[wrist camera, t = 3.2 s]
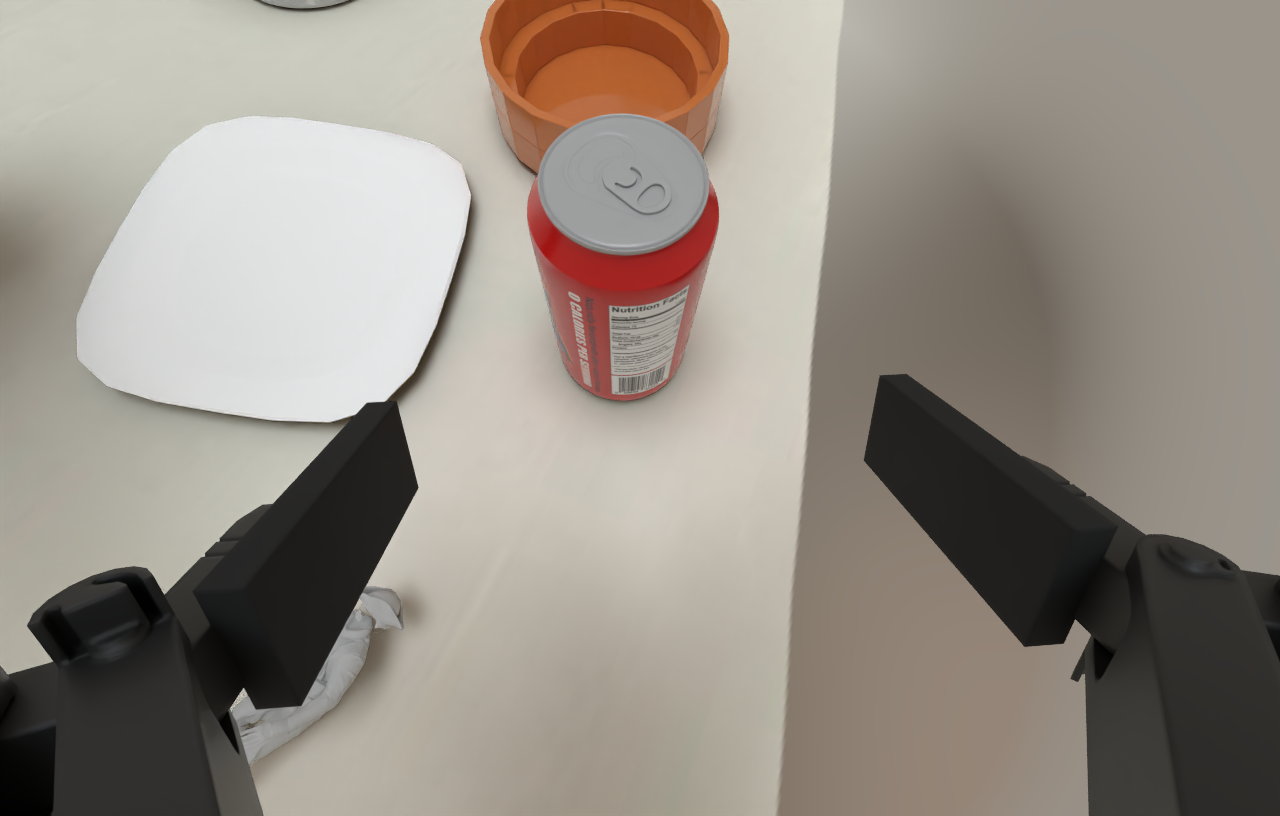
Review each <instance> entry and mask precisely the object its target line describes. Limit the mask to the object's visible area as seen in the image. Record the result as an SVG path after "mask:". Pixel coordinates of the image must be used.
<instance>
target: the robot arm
mask: <svg viewBox="0 0 1280 816" xmlns="http://www.w3.org/2000/svg"><path fill="white" fill-rule="evenodd" d="M864 461H865V462H866V464H867V465H868V466H869V467H870V468H871V469H872V471H873V472H874V473H875V474H876V475H877V476H878V477H879V478H880V480H881V481H882V482H883V483H884V484H885V486H886V487H887V488H888V489H889V490H890V491H891V492H892V494H893V495H894V496H895V497H896V498H897V499H898V501H899V502H900V503H901V504H902V505H903V506H904V508H905V509H906V510H907V511H908V512H909V513H910V514H911V516H912V517H913V518H914V519H915V520H916V521H917V523H918V524H919V525H920V526H921V527H922V528H923V530H924V531H925V532H926V533H927V534H928V535H929V537H930V538H931V539H932V540H933V541H934V542H935V544H936V545H937V546H938V547H939V548H940V549H941V550H942V552H943V553H944V554H945V555H946V556H947V557H948V559H949V560H950V561H951V562H952V563H953V564H954V565H955V567H956V568H957V569H958V570H959V571H960V573H961V574H962V575H963V576H964V577H965V578H966V579H967V581H968V582H969V583H970V584H971V585H972V586H973V588H974V589H975V590H976V591H977V592H978V593H979V595H980V596H981V597H982V598H983V599H984V600H985V601H986V602H987V604H988V605H989V606H990V607H991V608H992V610H993V611H994V612H995V613H996V614H997V615H998V617H999V618H1000V619H1001V620H1002V621H1003V622H1004V624H1005V625H1006V626H1007V627H1008V628H1009V629H1010V630H1011V632H1012V633H1013V634H1014V635H1015V636H1016V637H1017V638H1018V640H1019V641H1020V642H1021V643H1022V644H1023V646H1025V647H1028V646H1040V645H1053V644H1063V643H1064V642H1065V640H1066V637H1067V635H1068V633H1069V631H1070V629H1071V627H1072V625H1073V623H1074V620H1075V619H1076V620H1077V621H1078V622H1079V623H1080V624H1081V625H1082V626H1083V627H1084V628H1085V629H1086V630H1087V631H1088V632H1089V633H1090V634H1091V637H1090V639H1089V641H1088V643H1087V645H1086V647H1085V649H1084V651H1083V653H1082V655H1081V657H1080V659H1079V661H1078V663H1077V665H1076V667H1075V669H1074V671H1073V674H1072V676H1071V679H1072V680H1075V681H1077V682H1078V681H1079V679H1080V677H1081V675H1082V674H1085V684H1086V723H1087V759H1088V761H1087V762H1088V801H1089V816H1280V576H1278V575H1271V574H1264V573H1257V572H1250V571H1243V570H1240V568H1239V567H1238V566H1237V565H1236V564H1235V563H1233V562H1232V561H1230V560H1229V559H1227V558H1226V557H1225V556H1223V555H1222V554H1220V553H1218V552H1216V551H1214V550H1212V549H1210V548H1208V547H1206V546H1204V545H1201V544H1198V543H1195V542H1193V541H1190V540H1187V539H1184V538H1179V537H1174V536H1169V535H1162V534H1160V535H1159V534H1158V535H1157V534H1153V535H1152V534H1149V535H1145V534H1144V533H1142V532H1141V531H1139V530H1138V529H1137V528H1135V527H1134V526H1132V525H1131V524H1129V523H1128V522H1126V521H1125V520H1124V519H1122V518H1121V517H1119V516H1118V515H1117V514H1115V513H1114V512H1112V511H1111V510H1109V509H1108V508H1107V507H1105V506H1103V505H1102V504H1101V503H1099V502H1098V501H1096V500H1095V499H1094V498H1092V497H1090V496H1086V493H1085V492H1084V491H1082V490H1081V489H1079V488H1078V487H1076V486H1075V485H1070V483H1069V481H1068V480H1066V479H1065V478H1063V477H1062V476H1061V475H1059V474H1058V473H1056V472H1055V471H1053V470H1052V469H1051V468H1049V467H1047V466H1045V465H1042V464H1040V463H1038V462H1036V461H1033V460H1031V459H1029V458H1027V457H1024V456H1020V455H1019V454H1017V453H1016V452H1014V451H1013V450H1011V449H1010V448H1009V447H1007V446H1006V445H1005V444H1003V443H1002V442H1000V441H999V440H998V439H996V438H995V437H993V436H992V435H991V434H989V433H988V432H986V431H985V430H984V429H982V428H981V427H979V426H978V425H977V424H975V423H974V422H973V421H971V420H970V419H968V418H967V417H966V416H964V415H963V414H961V413H960V412H959V411H957V410H956V409H954V408H953V407H952V406H950V405H949V404H948V403H946V402H945V401H943V400H942V399H941V398H939V397H938V396H936V395H935V394H934V393H932V392H931V391H929V390H928V389H927V388H925V387H923V386H922V385H921V384H920V383H918V382H917V381H915V380H914V379H913V378H911V377H910V376H908V375H907V374H899V375H882V376H880V378H879V382H878V388H877V393H876V398H875V404H874V409H873V414H872V419H871V425H870V431H869V435H868V441H867V446H866V451H865V457H864ZM417 490H418V484H417V480H416V476H415V472H414V468H413V464H412V460H411V456H410V452H409V448H408V444H407V440H406V436H405V433H404V429H403V425H402V421H401V417H400V413H399V409H398V405H397V401H387V402H368V403H366V404H365V405H364V406H363V407H362V408H361V409H360V410H359V412H358V413H357V414H356V415H355V416H354V417H353V418H352V419H351V420H350V421H349V422H348V423H347V425H346V426H345V427H344V428H343V429H342V430H341V431H340V432H339V433H338V434H337V435H336V436H335V437H334V439H333V440H332V441H331V442H330V443H329V444H328V445H327V446H326V447H325V448H324V449H323V450H322V452H321V453H320V454H319V455H318V456H317V457H316V458H315V459H314V460H313V461H312V462H311V463H310V464H309V466H308V467H307V468H306V469H305V470H304V471H303V472H302V473H301V474H300V475H299V476H298V477H297V479H296V480H295V481H294V482H293V483H292V484H291V485H290V486H289V487H288V488H287V489H286V490H285V492H284V493H283V494H282V495H281V496H280V497H279V498H278V499H277V500H276V501H275V502H274V503H273V504H268V505H261V506H260V507H258V508H257V509H255V510H253V511H252V512H250V513H249V514H247V515H246V516H244V517H242V518H241V519H239V520H238V521H236V522H235V524H234V525H233V526H232V527H231V528H230V529H229V530H228V531H227V532H226V533H225V534H224V535H223V536H222V537H221V538H220V542H216V543H215V544H214V545H213V546H212V547H211V548H210V549H209V550H208V551H207V552H206V553H205V557H201V558H200V559H199V560H198V561H197V562H196V563H195V564H194V565H193V566H192V567H191V568H190V569H189V570H188V571H187V572H186V573H185V575H184V576H183V577H182V578H181V579H180V580H179V581H178V582H177V583H176V584H175V585H174V586H173V587H172V588H171V589H170V590H169V591H168V592H167V593H166V594H165V595H164V594H163V592H162V590H161V588H160V587H159V585H158V583H157V581H156V580H155V578H154V576H153V575H152V574H151V572H150V571H149V570H148V569H147V568H141V567H135V566H133V567H125V568H118V569H113V570H110V571H106V572H103V573H100V574H97V575H93V576H91V577H89V578H86V579H84V580H82V581H80V582H78V583H76V584H73V585H71V586H69V587H67V588H66V589H64V590H63V591H61V592H60V593H58V594H56V595H55V596H53V597H52V598H50V599H48V600H47V601H46V602H45V603H44V604H43V605H42V606H41V607H40V608H39V609H38V610H37V611H35V612H34V613H33V615H32V617H31V619H30V621H29V623H28V625H27V627H28V628H29V629H30V631H31V632H32V633H33V635H34V636H35V637H36V639H37V640H38V641H39V643H40V644H41V645H42V647H43V648H44V649H45V651H46V652H47V653H48V655H49V656H50V657H51V659H52V660H53V661H54V662H51V663H47V664H44V665H40V666H37V667H33V668H30V669H26V670H23V671H19V672H16V673H12V674H9V675H8V674H7V673H6V672H5V671H4V670H3V668H2V667H1V666H0V816H264V815H263V812H262V808H261V805H260V801H259V798H258V794H257V791H256V787H255V784H254V781H253V777H252V774H251V770H250V767H249V763H248V760H247V756H246V753H245V750H244V746H243V743H242V739H241V736H240V732H239V729H238V725H237V722H236V720H235V718H234V716H233V715H232V713H231V711H230V707H231V706H232V704H233V703H234V701H235V700H236V698H237V697H238V695H239V694H240V692H241V691H242V689H243V688H244V689H245V691H246V692H247V694H248V696H249V698H250V700H251V702H252V704H253V705H254V707H255V709H256V710H260V709H272V708H285V707H297V706H302V704H303V702H304V700H305V699H306V697H307V695H308V693H309V691H310V689H311V687H312V686H313V684H314V682H315V680H316V678H317V676H318V674H319V672H320V671H321V669H322V667H323V665H324V663H325V661H326V659H327V658H328V656H329V654H330V652H331V650H332V648H333V646H334V644H335V643H336V641H337V639H338V637H339V635H340V633H341V631H342V630H343V628H344V626H345V624H346V622H347V620H348V618H349V617H350V615H351V613H352V611H353V609H354V607H355V605H356V603H357V602H358V600H359V598H360V596H361V594H362V592H363V590H364V589H365V587H366V585H367V583H368V581H369V579H370V577H371V575H372V574H373V572H374V570H375V568H376V566H377V564H378V562H379V561H380V559H381V557H382V555H383V553H384V551H385V549H386V547H387V546H388V544H389V542H390V540H391V538H392V536H393V534H394V533H395V531H396V529H397V527H398V525H399V523H400V521H401V520H402V518H403V516H404V514H405V512H406V510H407V508H408V506H409V505H410V503H411V501H412V499H413V497H414V495H415V493H416V492H417Z"/></svg>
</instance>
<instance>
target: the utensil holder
mask: <svg viewBox="0 0 1280 816" xmlns="http://www.w3.org/2000/svg"><path fill="white" fill-rule="evenodd" d="M261 1H263V2H266V3H269V4H273V5H277V6H282V7H288V8H318V7H324V6H331V5H334V4H338V3H342V2H345V1H347V0H261Z"/></svg>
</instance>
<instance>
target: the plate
mask: <svg viewBox="0 0 1280 816" xmlns="http://www.w3.org/2000/svg"><path fill="white" fill-rule="evenodd" d="M471 198H472V197H471V193H470V190H469V187H468V183H467V180H466V177H465V174H464V170H463V167H462V164H461V163H460V162H458V161H457V160H455V159H454V158H452V157H451V156H449V155H448V154H446V153H445V152H443V151H442V150H441V149H439V148H438V147H436V146H435V145H433V144H432V143H428V142H424V141H420V140H416V139H413V138H409V137H405V136H401V135H397V134H394V133H390V132H384V131H378V130H372V129H366V128H360V127H354V126H347V125H341V124H334V123H327V122H320V121H313V120H306V119H299V118H284V117H264V116H246V117H241V118H237V119H232V120H227V121H223V122H218V123H214V124H209V125H206V126H205V127H203V128H202V129H201V130H199V131H198V132H196V133H195V134H194V135H192V136H191V137H189V138H188V139H187V140H185V141H184V142H182V143H181V144H180V145H178V146H177V147H175V148H174V149H173V150H172V151H171V152H170V154H169V155H168V156H167V158H166V159H165V160H164V161H163V163H162V164H161V165H160V167H159V168H158V169H157V171H156V172H155V173H154V175H153V176H152V177H151V178H150V180H149V181H148V182H147V184H146V185H145V187H144V188H143V190H142V192H141V193H140V195H139V197H138V198H137V200H136V202H135V203H134V205H133V207H132V208H131V210H130V212H129V213H128V215H127V217H126V218H125V220H124V222H123V223H122V225H121V227H120V228H119V230H118V232H117V234H116V236H115V237H114V239H113V241H112V243H111V244H110V246H109V248H108V250H107V252H106V253H105V255H104V257H103V259H102V261H101V262H100V264H99V266H98V268H97V270H96V272H95V274H94V277H93V279H92V282H91V284H90V286H89V289H88V291H87V294H86V296H85V298H84V301H83V303H82V306H81V308H80V310H79V313H78V315H77V317H76V335H77V359H78V360H79V361H80V362H81V363H82V364H83V365H84V366H85V367H86V368H88V369H89V370H90V371H91V372H92V373H93V374H94V375H95V376H96V377H97V378H98V379H99V380H101V381H102V382H103V383H104V384H105V385H106V386H107V387H111V388H114V389H117V390H120V391H124V392H127V393H130V394H134V395H137V396H140V397H143V398H147V399H150V400H153V401H157V402H160V403H165V404H171V405H177V406H182V407H188V408H194V409H199V410H205V411H211V412H216V413H223V414H230V415H237V416H243V417H250V418H257V419H264V420H270V421H286V422H314V423H333V422H336V421H340V420H343V419H346V418H350V417H353V416H355V415H356V414H357V413H358V412H359V410H360V409H361V408H362V407H363V406H364V405H365V404H366V403H368V402H387V401H388V400H389V399H390V398H391V397H392V396H393V395H394V394H395V393H396V392H397V391H398V390H399V389H400V388H401V387H402V386H403V385H404V384H405V383H406V382H407V381H408V380H409V379H410V378H411V377H412V376H413V375H414V374H415V372H416V370H417V368H418V366H419V364H420V362H421V359H422V357H423V355H424V353H425V351H426V349H427V347H428V345H429V342H430V340H431V338H432V336H433V334H434V332H435V330H436V328H437V325H438V322H439V319H440V316H441V313H442V310H443V307H444V304H445V301H446V298H447V295H448V292H449V289H450V286H451V283H452V280H453V276H454V273H455V270H456V266H457V263H458V260H459V256H460V253H461V250H462V246H463V243H464V240H465V236H466V230H467V223H468V217H469V211H470V205H471Z"/></svg>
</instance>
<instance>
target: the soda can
mask: <svg viewBox="0 0 1280 816" xmlns="http://www.w3.org/2000/svg"><path fill="white" fill-rule="evenodd" d="M527 220H528V227H529V232H530V237H531V241H532V245H533V249H534V253H535V256H536V260H537V264H538V268H539V272H540V276H541V280H542V284H543V288H544V292H545V296H546V300H547V304H548V308H549V311H550V315H551V319H552V323H553V327H554V331H555V335H556V339H557V343H558V347H559V351H560V354H561V357H562V360H563V363H564V365H565V367H566V369H567V370H568V372H569V374H570V375H571V376H572V378H573V379H574V380H575V381H576V382H577V383H578V384H579V385H580V386H582V387H583V388H584V389H586V390H587V391H589V392H591V393H592V394H595V395H597V396H599V397H602V398H606V399H611V400H620V401H624V400H634V399H639V398H642V397H645V396H648V395H650V394H652V393H654V392H656V391H658V390H659V389H661V388H662V387H663V386H664V385H666V384H667V383H668V382H669V381H670V379H671V378H672V377H673V376H674V374H675V373H676V371H677V370H678V368H679V366H680V364H681V361H682V358H683V355H684V352H685V349H686V345H687V341H688V338H689V334H690V330H691V327H692V323H693V320H694V316H695V312H696V309H697V305H698V301H699V298H700V294H701V291H702V287H703V283H704V280H705V276H706V272H707V269H708V265H709V262H710V258H711V254H712V251H713V247H714V243H715V239H716V235H717V231H718V224H719V207H718V201H717V196H716V193H715V190H714V188H713V185H712V183H711V181H710V180H709V176H708V171H707V167H706V164H705V162H704V160H703V158H702V156H701V154H700V152H699V151H698V149H697V148H696V147H695V145H694V144H693V143H692V142H691V141H690V140H689V139H688V138H687V137H686V136H685V135H683V134H682V133H681V132H679V131H678V130H677V129H675V128H673V127H672V126H670V125H668V124H666V123H664V122H661V121H659V120H656V119H653V118H650V117H646V116H642V115H635V114H608V115H602V116H597V117H593V118H590V119H587V120H584V121H582V122H580V123H578V124H576V125H574V126H572V127H571V128H569V129H567V130H566V131H565V132H563V133H562V134H561V135H560V136H559V137H558V138H557V139H556V140H555V141H554V142H553V143H552V144H551V145H550V147H549V148H548V150H547V151H546V153H545V155H544V157H543V159H542V161H541V164H540V168H539V173H538V175H537V177H536V179H535V181H534V183H533V185H532V188H531V191H530V194H529V199H528V207H527Z"/></svg>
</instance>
